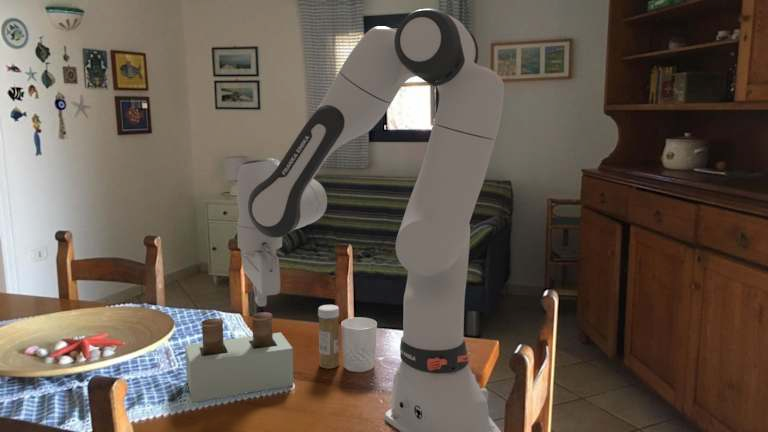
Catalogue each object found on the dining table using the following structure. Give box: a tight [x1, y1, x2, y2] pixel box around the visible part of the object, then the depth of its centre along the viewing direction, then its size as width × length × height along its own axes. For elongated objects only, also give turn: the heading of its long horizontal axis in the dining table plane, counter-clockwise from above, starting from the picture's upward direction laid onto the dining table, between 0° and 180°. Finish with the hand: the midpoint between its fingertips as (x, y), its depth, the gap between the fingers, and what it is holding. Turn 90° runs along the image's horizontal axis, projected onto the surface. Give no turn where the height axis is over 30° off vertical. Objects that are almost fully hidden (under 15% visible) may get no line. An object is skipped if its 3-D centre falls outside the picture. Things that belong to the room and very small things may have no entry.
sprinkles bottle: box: [317, 304, 340, 369], centre depth 134 cm, size 5×5×14 cm
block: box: [184, 331, 294, 403], centre depth 125 cm, size 10×20×8 cm, turn 113°
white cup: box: [340, 316, 378, 373], centre depth 134 cm, size 8×8×10 cm
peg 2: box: [251, 311, 273, 349], centre depth 126 cm, size 4×4×7 cm
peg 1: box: [201, 317, 224, 356], centre depth 122 cm, size 4×4×7 cm
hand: (260, 304), depth 125 cm, fingers closed
